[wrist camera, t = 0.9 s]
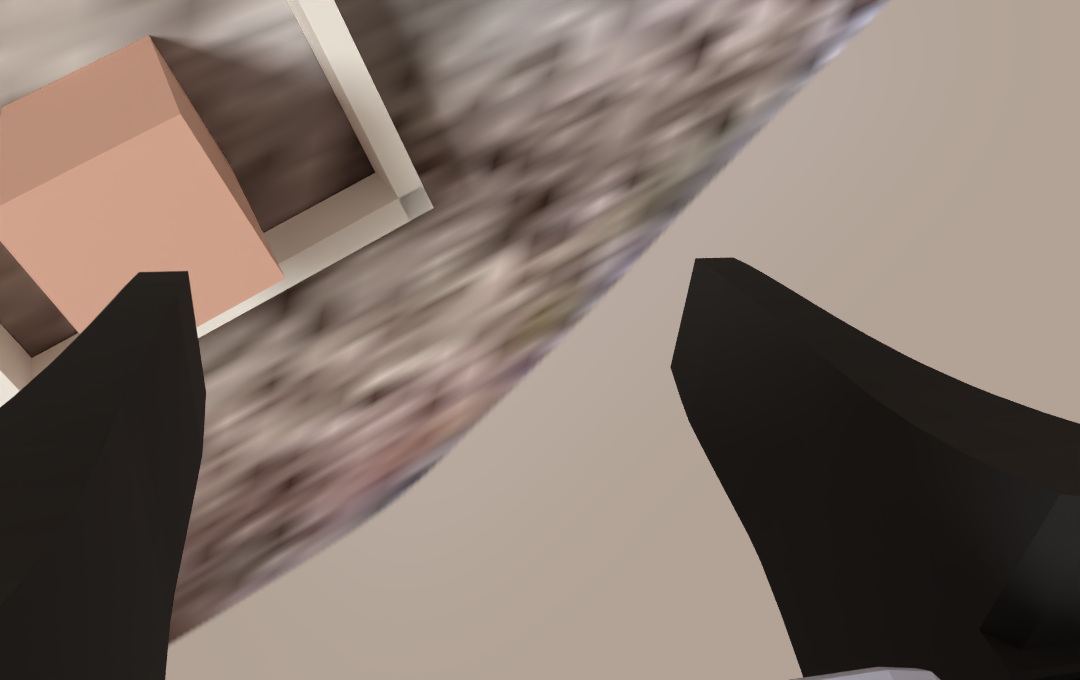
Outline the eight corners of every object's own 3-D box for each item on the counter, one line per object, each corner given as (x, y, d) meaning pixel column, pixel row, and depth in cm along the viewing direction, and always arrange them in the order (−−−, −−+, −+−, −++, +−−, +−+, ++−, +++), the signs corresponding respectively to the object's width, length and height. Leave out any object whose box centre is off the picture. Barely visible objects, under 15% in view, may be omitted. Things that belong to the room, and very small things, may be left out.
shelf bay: (24, 392, 26) (20, 436, 24) (-324, 28, 19) (-366, 49, 17) (408, 182, 28) (433, 208, 26) (215, -213, 21) (229, -217, 19)
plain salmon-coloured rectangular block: (100, 234, 25) (113, 373, 19) (2, 106, 22) (-21, 216, 16) (230, 166, 26) (285, 278, 19) (149, 35, 23) (180, 114, 17)
